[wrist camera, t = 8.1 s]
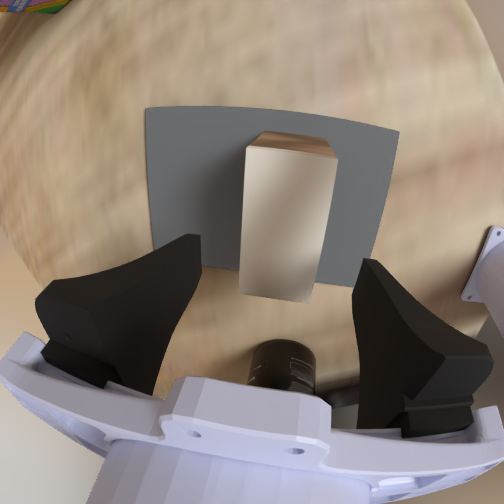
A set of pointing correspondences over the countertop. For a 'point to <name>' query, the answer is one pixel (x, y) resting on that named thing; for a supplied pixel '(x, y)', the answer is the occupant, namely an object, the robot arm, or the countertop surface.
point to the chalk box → (32, 6)
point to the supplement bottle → (284, 367)
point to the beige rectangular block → (285, 214)
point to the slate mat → (233, 172)
